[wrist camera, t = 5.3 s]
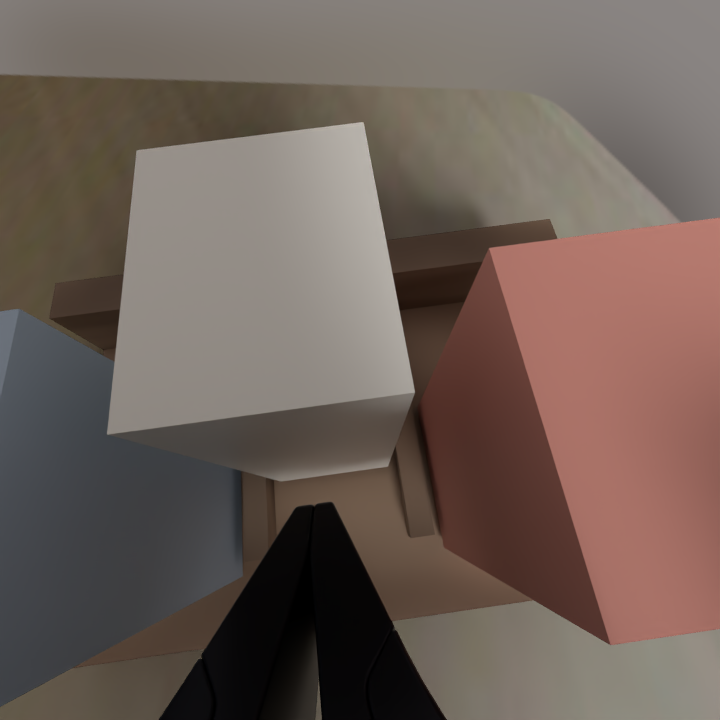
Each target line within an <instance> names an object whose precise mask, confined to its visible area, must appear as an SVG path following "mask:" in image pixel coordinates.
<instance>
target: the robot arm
mask: <svg viewBox="0 0 720 720" xmlns="http://www.w3.org/2000/svg"><path fill="white" fill-rule="evenodd" d="M201 657H202V659H198V661H197V662H196V664H195V665H194V667H193V669H192V670H191V672H190V673H189V675H188V676H187V678H186V680H185V681H184V683H183V684H182V686H181V687H180V689H179V690H178V692H177V693H176V695H175V696H174V698H173V699H172V701H171V702H170V704H169V705H168V707H167V708H166V710H165V711H164V713H163V714H162V716H161V717H160V718H159V720H315V716H316V703H317V691H318V678H319V685H320V699H321V712H322V720H447V719H446V718H445V716H444V715H443V713H442V712H441V710H440V708H439V707H438V705H437V703H436V702H435V700H434V698H433V697H432V695H431V694H430V692H429V690H428V689H427V687H426V685H425V684H424V682H423V680H422V679H421V677H420V675H419V673H418V671H417V669H416V667H415V666H414V664H413V662H412V660H411V658H410V656H409V654H408V652H407V651H406V649H405V647H404V645H403V643H402V641H401V639H400V637H399V634H398V632H397V631H396V630H395V627H394V625H393V623H392V621H391V619H390V617H389V615H388V613H387V611H386V609H385V606H384V604H383V602H382V600H381V598H380V596H379V594H378V592H377V590H376V588H375V586H374V584H373V582H372V580H371V578H370V576H369V574H368V572H367V570H366V568H365V566H364V564H363V562H362V560H361V558H360V556H359V554H358V552H357V550H356V548H355V546H354V544H353V541H352V539H351V537H350V535H349V533H348V531H347V529H346V527H345V525H344V523H343V521H342V519H341V517H340V515H339V513H338V511H337V509H336V507H335V505H334V503H333V502H324V503H317V504H316V505H315V506H314V505H312V504H309V505H302V506H297V507H296V508H295V509H294V510H293V512H292V513H291V515H290V516H289V518H288V520H287V521H286V523H285V524H284V526H283V527H282V529H281V531H280V532H279V534H278V535H277V537H276V538H275V540H274V542H273V543H272V545H271V546H270V548H269V549H268V551H267V553H266V554H265V556H264V557H263V559H262V560H261V562H260V564H259V565H258V567H257V568H256V570H255V571H254V573H253V575H252V576H251V578H250V579H249V581H248V582H247V584H246V586H245V587H244V589H243V590H242V592H241V593H240V595H239V597H238V598H237V600H236V601H235V603H234V604H233V606H232V608H231V609H230V611H229V612H228V614H227V615H226V617H225V619H224V620H223V622H222V623H221V625H220V626H219V628H218V630H217V631H216V633H215V634H214V636H213V637H212V639H211V641H210V642H209V644H208V645H207V647H206V648H205V650H204V652H203V653H202V655H201Z"/></svg>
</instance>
